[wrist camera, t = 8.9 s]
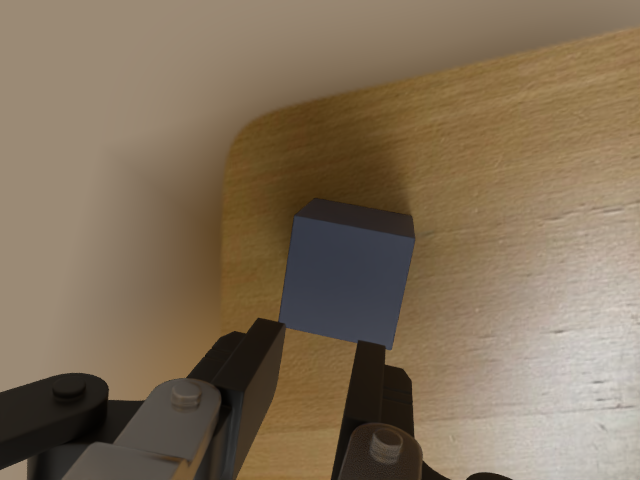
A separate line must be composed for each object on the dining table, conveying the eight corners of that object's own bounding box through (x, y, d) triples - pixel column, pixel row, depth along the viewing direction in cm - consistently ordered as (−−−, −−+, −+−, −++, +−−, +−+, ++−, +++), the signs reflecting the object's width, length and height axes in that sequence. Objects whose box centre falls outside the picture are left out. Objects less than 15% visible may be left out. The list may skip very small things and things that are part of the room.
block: (299, 289, 24) (277, 326, 20) (314, 197, 23) (293, 214, 19) (393, 308, 24) (391, 351, 19) (412, 215, 23) (415, 238, 18)
